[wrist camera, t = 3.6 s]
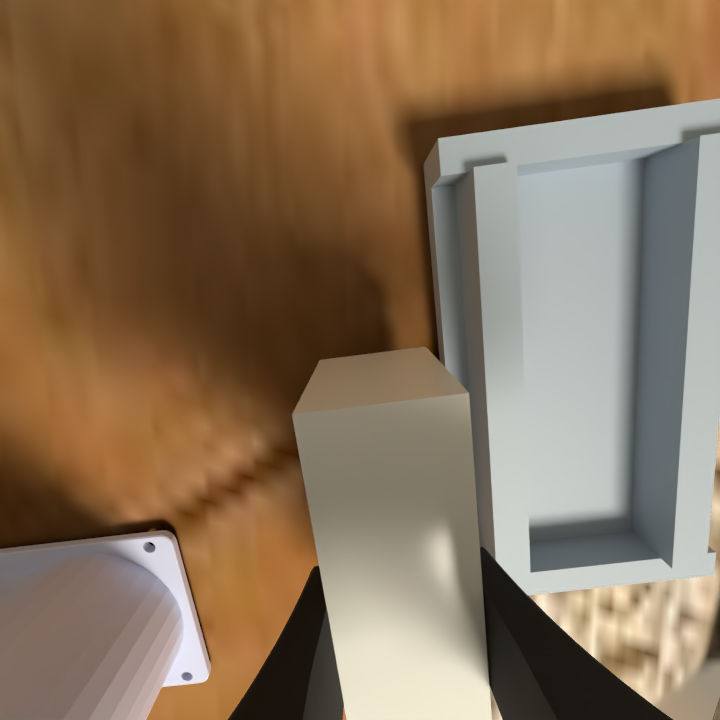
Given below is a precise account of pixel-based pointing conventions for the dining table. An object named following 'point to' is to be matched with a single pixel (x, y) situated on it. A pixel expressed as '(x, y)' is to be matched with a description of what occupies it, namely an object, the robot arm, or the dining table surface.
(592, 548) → the tray
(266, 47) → the dining table surface
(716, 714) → the stone
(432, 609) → the clay bar
